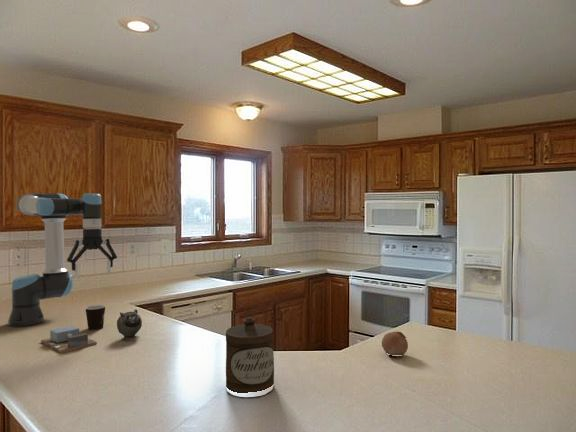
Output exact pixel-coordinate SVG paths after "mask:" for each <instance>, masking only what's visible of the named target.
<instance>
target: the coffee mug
mask: <svg viewBox="0 0 576 432" xmlns="http://www.w3.org/2000/svg"><path fill="white" fill-rule="evenodd" d="M84 310H85V315H86V323H87V329H88V331H98V330H99V331H100V330H103V329H104V323H105V322H104V321H105V314H106V305H104V304H101V305H100V304H95V305H89V306H86V307H85V309H84Z"/></svg>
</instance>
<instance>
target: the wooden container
mask: <svg viewBox="0 0 576 432" xmlns="http://www.w3.org/2000/svg"><path fill="white" fill-rule="evenodd" d="M225 341H226V343H225V345H226V346H225V348H226V349H225V350H226V352H225V388H226V387H227V388H228V389H229V390H231V391H233V392H237V393H248V392H257V391H262V390H265V389H267V388H269V387H271V386H272V385H273V384H274V385H275V357H274V356H275V355H274V330H273V328H272V327H271V326H269V325H265V324H261V323H256V321H255V318H253V317H251V316H248V317H247V316H246V318H245V319H243V324H238V325H237V324H236V325H234V326H231V327H229V328H227V330H226V331H225Z"/></svg>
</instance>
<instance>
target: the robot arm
mask: <svg viewBox="0 0 576 432" xmlns="http://www.w3.org/2000/svg"><path fill="white" fill-rule="evenodd" d="M16 208H17V210H18V211H19V212H20V213H21V214H23V215H26V216H32V217H40V220H41V221H42V222H43V223H44V247H45V269H44V271H43V272H42V276H40V275H39V274H38V273H33V274H25V275H21V276H18V277H15V278H14V279H13V280H12V283H11V301H12V302H11V312H10V314H9V317H8V321H7V325H8V327H13V328H14V327H15V328H16V327H19V328H20V327H28V326H33V325H34V326H35V325H38V324H41V323H44V322H45V316H44V313H43V311H42V307H41V304H40V303H41V300H47V299H53V298H54V299H55V298H61V297H62V298H63V297H66V296H68V295H70V294H71V292H72V290H73V285H74V279H78V277H79V273H78V268H79V267H78V264H79V263H78V262H77V261H79V259H80V258H81V257H82V255H84V253H85V252H86V251H87V250H89V251H90V250H100V252H101V253H102V254H103V255H104V256H105V257H106V258H107V260H106V275H107V276H111V273H112V272H111V268H113V266H114V265H113V264H114V262H113V261H114V260H116V259H117V258H118V255H117V254H116V252H115V251H114V249H113V246H112V245H111V243H110V238H104V239H103V238H102V234H103V233H102V231H103V230H102V195H101V194H100V193H83V194H82V198H77V197H76V198H69V197H68V196H67V195H66V194H64V193H50V192H49V193H48V192H47V193H46V192H45V193H44V192H42V193H41V192H40V193H39V192H33V193H32V192H31V193H25V194H23V195H21V196H20V197H19V198H18V199H17V201H16ZM68 216H82V228H83V230H82V240H79V239H75V240H74V245H73V247H72V249H71V251H70V253H69V255H68V257H67V258H66V260H65V235H64V222H65V221H66V220H67V217H68ZM81 244H82V247H81V249H80V250H79V251H78V253H77V250H78V248H79V246H81ZM102 244H104V245H106V247H107V249H108V251H109V253H110V254H109V253H108V252H107V250H106V249H105V248H104V247H103V246H102ZM76 253H77V254H76ZM65 261H66V262H68V263H71V271H73V272H74V278H73V275H72V273H69V269H67V268H66V267H65V266H66V265H65Z"/></svg>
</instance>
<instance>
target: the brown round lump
mask: <svg viewBox="0 0 576 432" xmlns="http://www.w3.org/2000/svg"><path fill="white" fill-rule="evenodd" d="M408 344H409V343H408V340H407V336H405V334H404V333H403V332H402V331H393V332H391V331H390V332H387V333H385V335H384V336H383V338H382V340H381V347H382V348H383V350H384V352H385V354H386V353H388V354H390V355H405V354H406V353H407V351H408V348H409V345H408Z"/></svg>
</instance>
